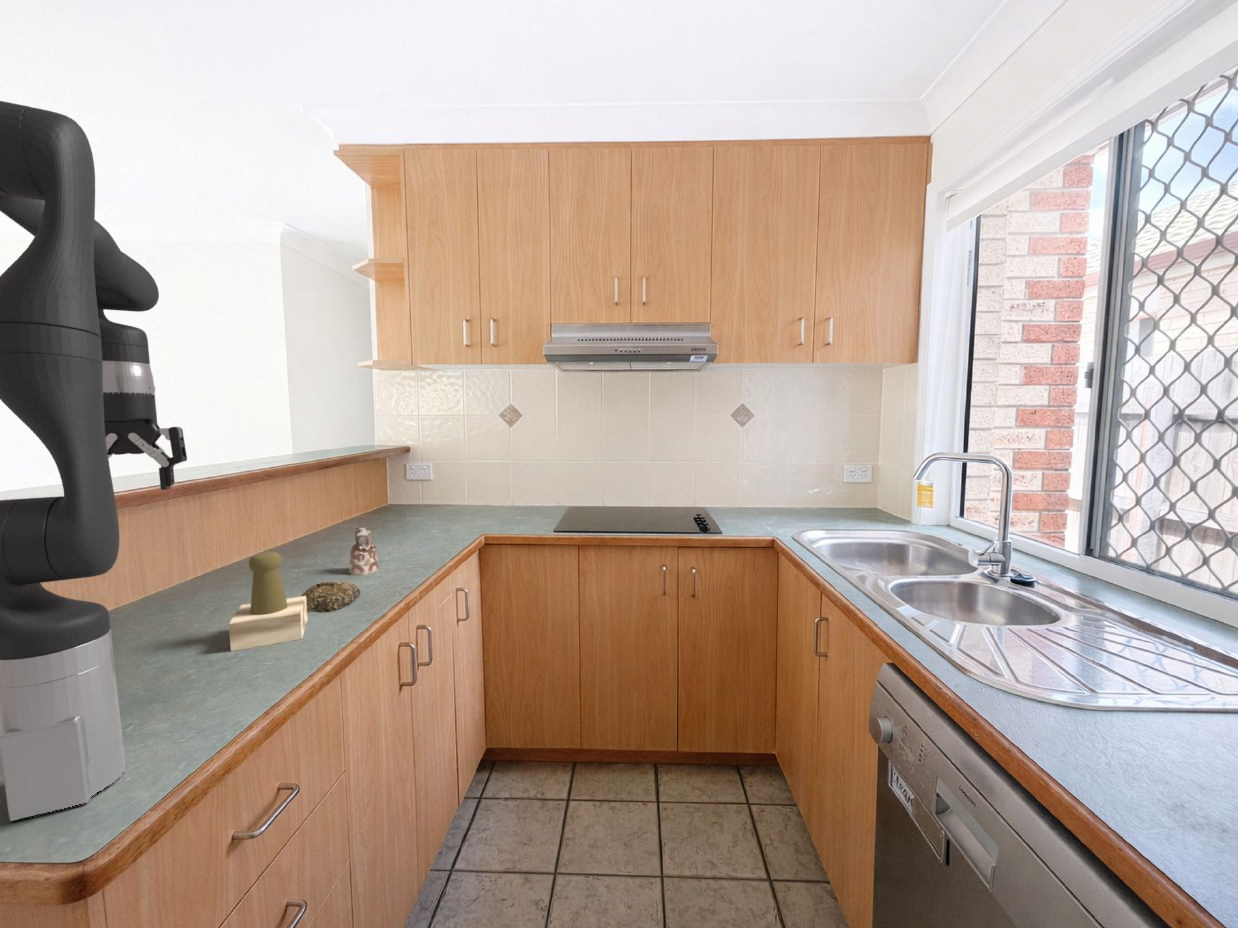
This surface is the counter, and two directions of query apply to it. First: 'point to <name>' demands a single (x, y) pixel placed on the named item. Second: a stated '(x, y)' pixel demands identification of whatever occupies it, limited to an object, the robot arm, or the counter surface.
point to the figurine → (363, 553)
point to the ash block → (268, 625)
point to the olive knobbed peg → (266, 584)
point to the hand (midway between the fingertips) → (133, 491)
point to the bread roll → (330, 596)
